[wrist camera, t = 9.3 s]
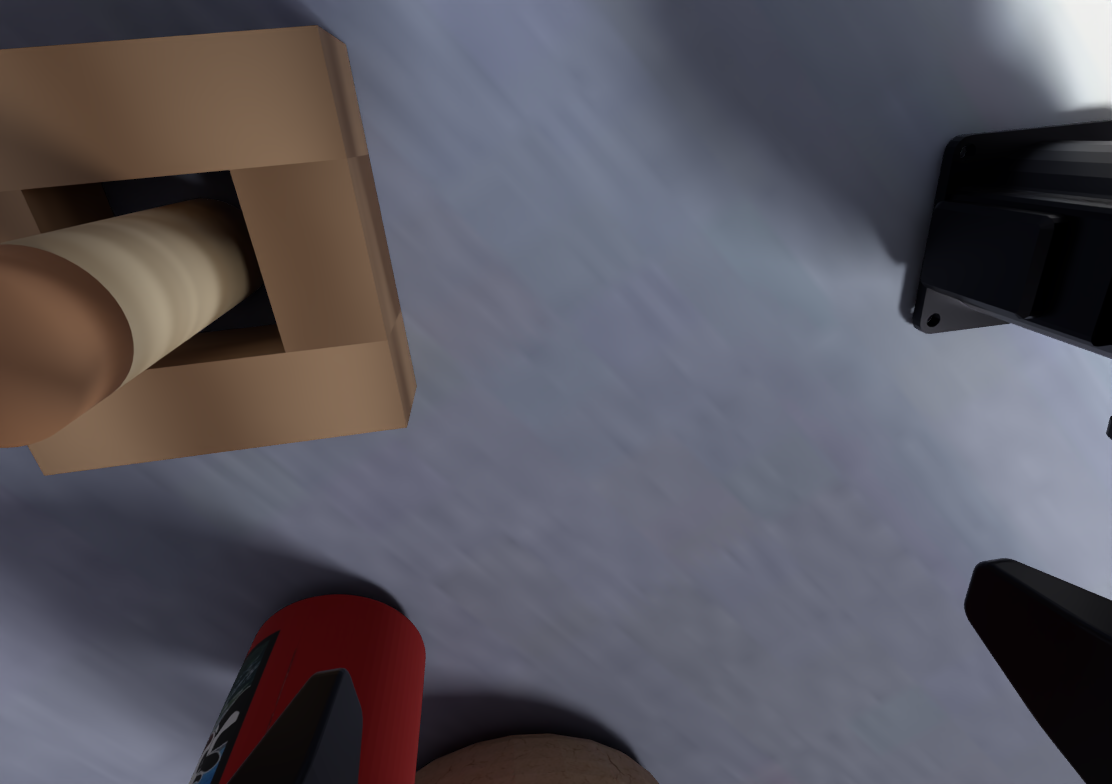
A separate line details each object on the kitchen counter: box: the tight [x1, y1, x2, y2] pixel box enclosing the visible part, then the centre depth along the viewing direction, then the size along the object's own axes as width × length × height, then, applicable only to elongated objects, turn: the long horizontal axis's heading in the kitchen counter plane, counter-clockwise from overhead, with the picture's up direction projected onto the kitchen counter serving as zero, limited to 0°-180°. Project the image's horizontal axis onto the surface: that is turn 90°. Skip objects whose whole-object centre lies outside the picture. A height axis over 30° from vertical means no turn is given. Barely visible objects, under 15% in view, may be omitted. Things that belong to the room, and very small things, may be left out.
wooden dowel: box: [0, 198, 264, 448], centre depth 13 cm, size 3×3×9 cm
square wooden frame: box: [0, 25, 417, 476], centre depth 15 cm, size 10×10×3 cm
